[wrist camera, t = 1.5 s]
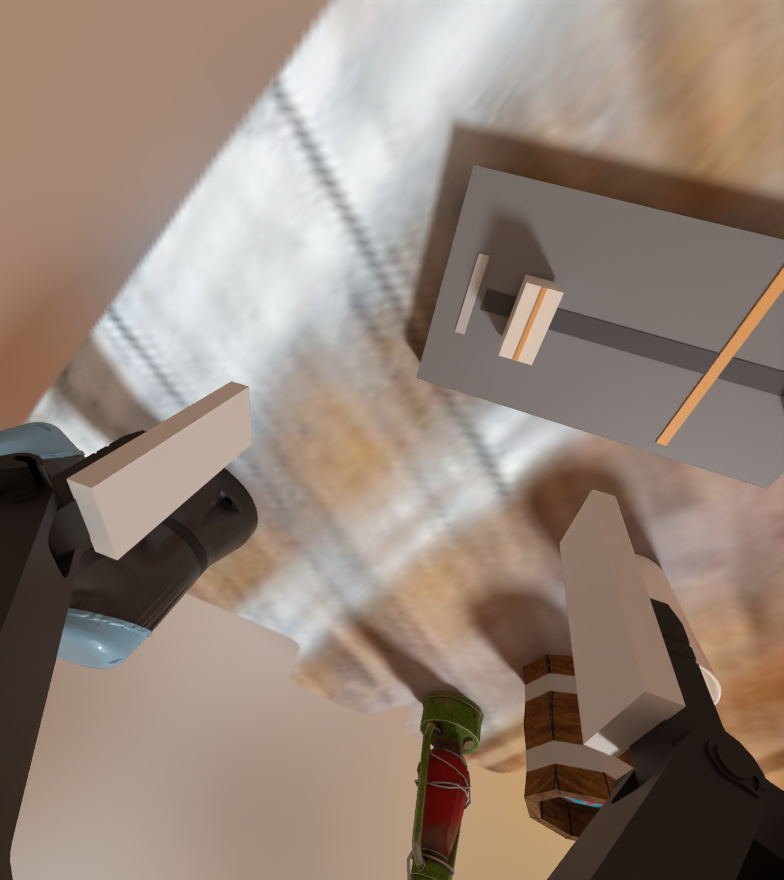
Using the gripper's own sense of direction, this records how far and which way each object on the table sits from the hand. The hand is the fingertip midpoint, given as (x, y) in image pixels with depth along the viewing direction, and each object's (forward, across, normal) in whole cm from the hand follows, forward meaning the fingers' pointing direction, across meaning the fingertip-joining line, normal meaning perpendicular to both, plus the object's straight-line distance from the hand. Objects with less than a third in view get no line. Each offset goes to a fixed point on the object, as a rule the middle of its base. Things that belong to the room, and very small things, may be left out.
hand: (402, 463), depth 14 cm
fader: (+20, +4, +2) cm, 20 cm away
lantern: (+23, +15, -65) cm, 71 cm away
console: (+23, +12, +2) cm, 26 cm away
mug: (+24, +30, -48) cm, 61 cm away
